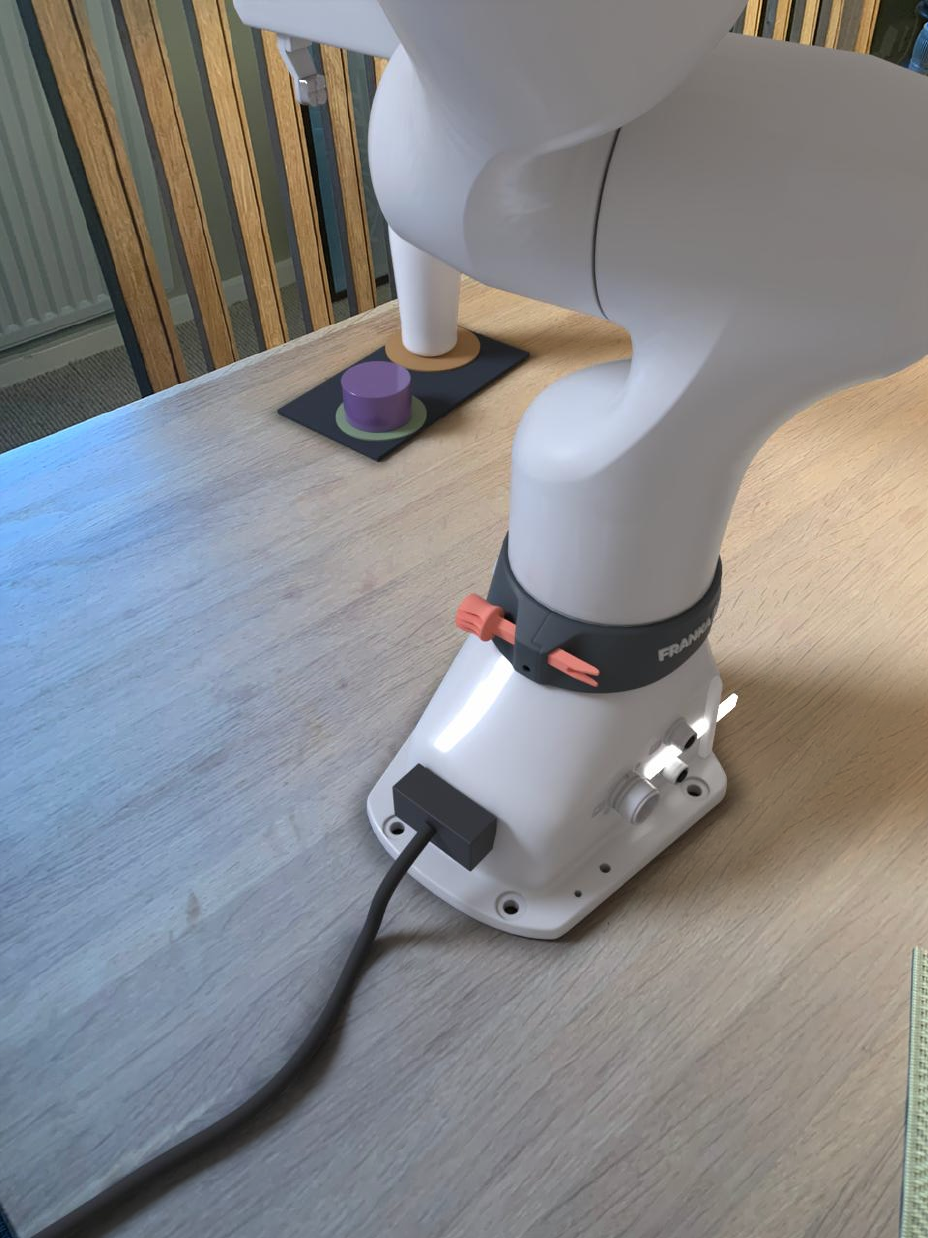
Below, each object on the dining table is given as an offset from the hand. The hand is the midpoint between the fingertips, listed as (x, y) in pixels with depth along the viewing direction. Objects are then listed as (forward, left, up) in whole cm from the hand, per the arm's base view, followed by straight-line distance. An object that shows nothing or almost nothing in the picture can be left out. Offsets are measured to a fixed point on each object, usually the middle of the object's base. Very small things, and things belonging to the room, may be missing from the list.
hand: (359, 117), depth 70 cm
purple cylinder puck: (0, 0, -24) cm, 25 cm away
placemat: (+6, +2, -25) cm, 26 cm away
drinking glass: (+12, +4, -25) cm, 28 cm away
